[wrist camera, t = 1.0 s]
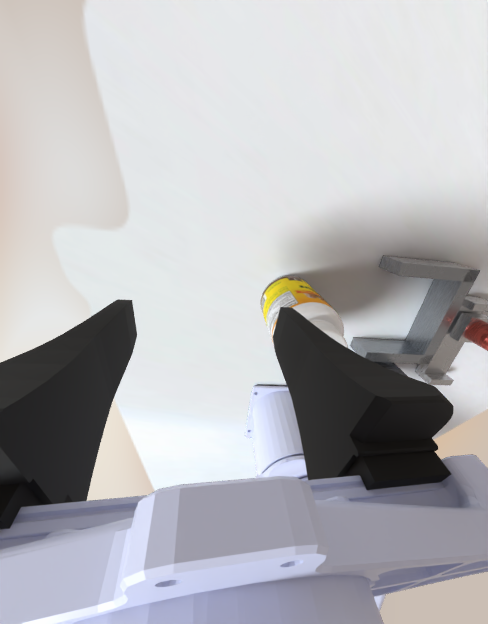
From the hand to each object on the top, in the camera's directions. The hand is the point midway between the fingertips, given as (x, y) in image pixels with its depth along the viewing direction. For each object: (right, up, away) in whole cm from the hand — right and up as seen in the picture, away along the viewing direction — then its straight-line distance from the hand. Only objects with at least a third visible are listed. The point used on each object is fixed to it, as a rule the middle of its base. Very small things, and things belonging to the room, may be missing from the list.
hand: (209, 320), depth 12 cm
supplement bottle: (+6, +2, +14) cm, 15 cm away
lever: (+27, -1, +15) cm, 31 cm away
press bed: (+19, -1, +16) cm, 25 cm away
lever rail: (+27, -3, +17) cm, 32 cm away
